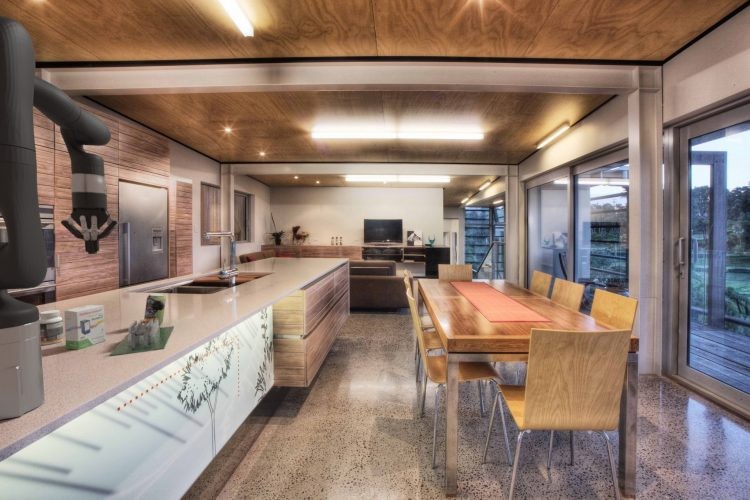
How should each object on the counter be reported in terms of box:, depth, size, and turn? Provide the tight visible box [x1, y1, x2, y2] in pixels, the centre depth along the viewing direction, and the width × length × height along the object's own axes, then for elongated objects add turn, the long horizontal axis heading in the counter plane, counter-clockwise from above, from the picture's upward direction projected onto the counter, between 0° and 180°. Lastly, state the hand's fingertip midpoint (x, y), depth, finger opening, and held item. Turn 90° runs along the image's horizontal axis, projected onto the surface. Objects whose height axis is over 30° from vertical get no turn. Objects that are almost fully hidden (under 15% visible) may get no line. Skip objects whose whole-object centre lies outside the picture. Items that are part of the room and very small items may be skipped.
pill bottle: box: [39, 309, 64, 346], centre depth 107 cm, size 6×6×10 cm
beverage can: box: [143, 292, 167, 326], centre depth 126 cm, size 6×7×12 cm
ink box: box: [63, 304, 107, 351], centre depth 105 cm, size 9×5×12 cm, turn 168°
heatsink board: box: [110, 313, 175, 357], centre depth 109 cm, size 25×13×6 cm, turn 25°
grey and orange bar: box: [135, 318, 157, 336], centre depth 109 cm, size 19×4×1 cm, turn 25°
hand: (92, 253), depth 95 cm, fingers closed
